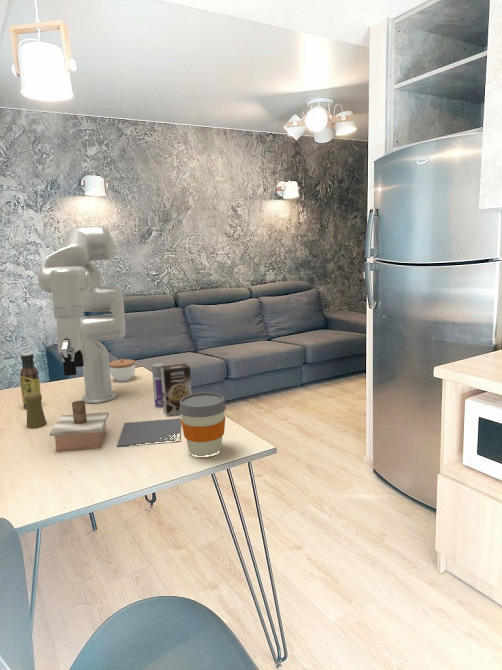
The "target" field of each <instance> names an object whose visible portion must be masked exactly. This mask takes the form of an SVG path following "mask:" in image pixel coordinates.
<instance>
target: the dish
mask: <svg viewBox="0 0 502 670" xmlns="http://www.w3.org/2000/svg"><path fill="white" fill-rule="evenodd" d="M106 433H107V423H106V422H105V424H104V426H103V429H102V431H101V432H95V433H83V434H71V435H59V436H54V441H55V450H56V452H61V451H69V450H70V451H72V450H83V449H84V450H85V449H93V448H94V449H96V448H100V447H101V445H102V443H103V441H104V438H105V436H106Z"/></svg>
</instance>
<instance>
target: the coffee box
mask: <svg viewBox="0 0 502 670" xmlns="http://www.w3.org/2000/svg"><path fill="white" fill-rule="evenodd" d="M191 379H192V377H191V366H189V365H188V364H187V363H178V364H171V365H169V364H168V365H165V366H161V381H162V397H163V407H162V410H163V412H164V414H165V415H166V417H172V416H177V415H176V414H178V415H181V413H180V400H181V399H182V398H183V397H185V396H188V395H191V394H193V393H192V380H191ZM171 415H172V416H171Z"/></svg>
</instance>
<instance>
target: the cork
mask: <svg viewBox="0 0 502 670" xmlns="http://www.w3.org/2000/svg"><path fill="white" fill-rule="evenodd" d="M24 400H25V402H26V403H27V408H26V428H28V429H38V428H43V427H45V426H46V425H47V420H46V415H45V413H44V408H43V406H42V404H41V403H42V400H43V395H42V394H40V393H39V392H31V393H28V394H26V395H25V397H24Z"/></svg>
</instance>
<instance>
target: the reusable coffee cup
mask: <svg viewBox="0 0 502 670" xmlns="http://www.w3.org/2000/svg"><path fill="white" fill-rule="evenodd" d="M225 401H226V400H225V397H224V395H222V394H220V393H217V392H198V393H197V392H196V393H192V394H191V395H188V396H185V397H183V398H182V399H181V400H180V413H181V414H180V415H181V427H182V432H183V437H184V439H186V445H187V448H188V453H189V452H190V453H191V454H193V455H197V456H205V455H211V454H214V453H217V452H218V451H220V450H221V451H222V446H223V436H224V434H225V427H226V426H225V425H226V416H225V410H226V408H227V407H226V402H225Z"/></svg>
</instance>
